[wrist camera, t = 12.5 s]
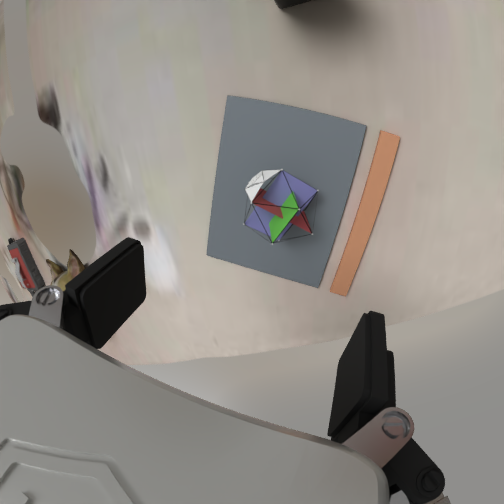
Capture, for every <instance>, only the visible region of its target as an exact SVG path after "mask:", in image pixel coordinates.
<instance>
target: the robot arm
mask: <svg viewBox="0 0 504 504" xmlns="http://www.w3.org/2000/svg"><path fill="white" fill-rule="evenodd" d="M65 288H66V289H65V290H64V291H62V289H61V288H59V287H58V286H54V285H49V286H45V287H42V288H40V289H39V290H37V291H36V293H35V294H34V296H33V298H32V301H26V302H19V303H12V304H5V305H1V306H0V504H451V503H450V501H449V498H448V496H446V497H444V495H443V493H442V491H443V489H444V486H445V478H444V475H443V473H442V472H441V470H440V469H439V468H438V467H437V465H436V464H435V463H434V462H433V461H432V460H431V459H430V458H429V457H428V455H427V454H426V453H425V452H424V451H423V450H422V449H421V448H420V446H419V445H418V444H417V443H416V442H415V441H414V440H413V439H412V435H413V433H414V423H413V420H412V418H411V417H410V415H409V414H408V413H407V412H405V411H404V410H402V409H400V408H396V403H395V402H396V399H395V372H394V356H393V352H392V351H388V350H387V346H386V331H385V319H384V315H383V314H381V313H377V312H373V311H369V313H368V314H366V313H364V314H363V315H362V317H361V319H360V321H359V323H358V325H357V327H356V329H355V331H354V333H353V335H352V337H351V339H350V341H349V343H348V345H347V347H346V348H345V350H344V352H343V354H342V356H341V358H340V360H339V364H338V369H337V376H336V383H335V390H334V397H333V404H332V410H331V416H330V422H329V428H328V436H331V440H328V439H325V438H321V437H318V436H314V435H311V434H308V433H304V432H300V431H296V430H293V429H289V428H286V427H282V426H279V425H276V424H272V423H269V422H266V421H263V420H259V419H256V418H253V417H250V416H247V415H244V414H241V413H238V412H235V411H233V410H230V409H227V408H224V407H221V406H219V405H216V404H213V403H211V402H208V401H206V400H203V399H200V398H198V397H195V396H193V395H191V394H188V393H186V392H183V391H181V390H179V389H176V388H174V387H172V386H169V385H167V384H165V383H163V382H160V381H158V380H156V379H154V378H152V377H150V376H148V375H146V374H144V373H141V372H139V371H137V370H135V369H133V368H131V367H129V366H127V365H125V364H124V363H122V362H120V361H118V360H116V359H114V358H112V357H110V356H108V355H106V354H105V353H103V352H101V351H99V350H97V349H100V348H102V347H103V346H104V344H105V343H106V342H107V341H108V340H109V339H110V338H111V337H112V335H113V334H114V333H115V332H116V331H117V330H118V329H119V328H120V327H121V326H122V324H123V323H124V322H125V321H126V320H127V319H128V318H129V317H130V316H131V315H132V313H133V312H134V311H135V310H136V309H137V308H138V307H139V306H140V305H141V304H142V303H143V302H144V300H145V298H146V283H145V268H144V249H143V246H142V245H141V242H140V241H138V240H135V239H132V238H129V237H128V238H126V239H124V240H123V241H121V242H120V243H119V244H117V245H116V246H115V247H113V248H112V249H111V250H109V251H108V252H107V253H105V254H104V255H103V256H101V257H100V258H99V259H97V260H96V261H95V262H93V263H92V264H91V265H90V266H88V267H87V268H86V269H84V270H83V271H82V272H81V273H79V274H78V275H77V276H76V277H74V278H73V279H72V280H71V281H69V282H68V283H67V284H66V285H65Z"/></svg>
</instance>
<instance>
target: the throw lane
mask: <svg viewBox="0 0 504 504" xmlns="http://www.w3.org/2000/svg"><path fill="white" fill-rule="evenodd" d="M365 130H366V125H363V124H359V123H356V122H353V121H349V120H346V119H342V118H338V117H335V116H331V115H327V114H323V113H319V112H315V111H311V110H306V109H302V108H297V107H293V106H288V105H283V104H278V103H272V102H267V101H261V100H255V99H249V98H242V97H236V96H228V95H227V102H226V108H225V114H224V121H223V127H222V134H221V141H220V148H219V155H218V162H217V170H216V177H215V185H214V193H213V201H212V210H211V218H210V227H209V236H208V246H207V255H208V256H211V257H214V258H218V259H221V260H224V261H228V262H231V263H234V264H238V265H241V266H244V267H248V268H251V269H254V270H258V271H261V272H265V273H268V274H271V275H275V276H278V277H282V278H285V279H289V280H292V281H296V282H299V283H302V284H306V285H309V286H313V287H316V288H318V286H319V284H320V281H321V278H322V275H323V272H324V269H325V266H326V263H327V260H328V257H329V254H330V251H331V248H332V245H333V242H334V239H335V236H336V233H337V230H338V227H339V223H340V220H341V217H342V214H343V210H344V207H345V204H346V200H347V197H348V193H349V190H350V187H351V183H352V179H353V176H354V172H355V169H356V165H357V161H358V157H359V154H360V150H361V146H362V142H363V138H364V134H365ZM399 140H400V137H399V136H396V135H393V134H390V133H388V132H385V131H382V130H380V134H379V138H378V142H377V146H376V150H375V154H374V157H373V161H372V165H371V168H370V172H369V175H368V179H367V182H366V185H365V189H364V192H363V195H362V199H361V202H360V205H359V208H358V211H357V215H356V218H355V221H354V224H353V227H352V230H351V233H350V236H349V239H348V242H347V245H346V247H345V250H344V253H343V256H342V259H341V262H340V264H339V267H338V270H337V273H336V275H335V278H334V281H333V283H332V286H331V289H330V292H332V293H336V294H339V295H343V296H346V294H347V292H348V290H349V287H350V285H351V282H352V280H353V278H354V275H355V273H356V270H357V268H358V265H359V263H360V260H361V257H362V255H363V252H364V249H365V247H366V244H367V241H368V239H369V236H370V233H371V230H372V228H373V225H374V222H375V219H376V216H377V213H378V210H379V207H380V204H381V201H382V198H383V195H384V192H385V189H386V186H387V182H388V179H389V176H390V172H391V169H392V166H393V162H394V159H395V155H396V151H397V148H398V144H399ZM281 169H283V170H284V171H285V172H287V173H289V174H291V175H292V176H294V177H296V178H298V179H299V180H301V181H303V182H305V183H306V184H308V185H310V186H311V187H313V188H315V189H316V190H319V191H318V192H317V194H316V195H315V197H314V198H313V200H312V199H311V200H312V201H311V203H310V202H309V203H310V204H309V203H308V204H309V206H308V207H307V206H306V207H307V209H306V210H305V208H306V207H305V208H304V210H305V214H306V217H307V219H308V222H309V225H310V228H311V230H312V232H313V235H312V234H311V233H309V232H307V231H306V230H304V229H302V228H300V227H298V226H296V225H294V224H293V225H292V226H291V228H290V229H289V230H288V231H287V232H286V233H285V235H284V236H283V237H282V238H281V239H280V241H278V240H275V242H276V241H278V243H277V242H276V243H274V244H273V245H272V243H270V242H271V241H272V239H271V237H270V236H269V237H270V239H271V241H270V239H269V237H268V235H266V234H264V233H262V232H259V231H257V230H255V229H253V228H251V227H249V226H248V227H247V225H243V223H244V220H245V219H246V220H247V219H248V218H249V216H250V215H251V213H252V212H253V210H254V208H255V207H256V205H254V204H253V206H254V208H253V206H252V204H251V201H250V199H249V197H248V199H247V196H248V195H247V193H246V191H245V188H246V186H247V185H248V183H249V182H250V180H251V179H252V178H253V177H254V176H256V175H257V174H258V173H259V172H261V171H262V170H281ZM279 172H280V171H279ZM279 172H278V173H279ZM278 173H276V174H275V175H273V176H272V177H270V178H269V179H268V180H266V181H264V183H263V185H262V186H261V189H264V188H265V187H266V186H267V185H268V184H269V183H270V182H271V180H272V179H271V178H274V177H275V176H276V175H277V174H278ZM278 175H279V174H278ZM278 175H277V176H278ZM277 176H276V177H277ZM276 177H275V178H274V179H273V180H272V182H271V183H270V184H269V185H268V186H267V187H266V188H265V189H264V190H265V191H267V190H268V189H269V187H270V186H271V184H272V183H273V182H274V180H275V179H276ZM317 195H318V196H317ZM316 203H317V204H316ZM246 204H247V207H246ZM308 204H307V205H308ZM250 205H251V207H250ZM249 208H250V210H249ZM315 210H316V212H315ZM248 211H249V213H248ZM245 212H246V215H245ZM247 214H248V215H247ZM246 217H247V218H246ZM314 218H315V219H314ZM245 222H246V221H245ZM313 225H314V227H313ZM250 228H251V229H250ZM253 230H254V231H253ZM256 232H257V233H258V234H257V233H256ZM309 234H311V235H309ZM260 235H261V236H260ZM304 235H307V236H304ZM299 236H300V237H299ZM301 236H303V237H301ZM263 237H264V238H263ZM293 237H295V238H294V239H293ZM297 237H299V238H297ZM288 238H290V240H289V239H288ZM266 239H267V240H268V241H267V240H266ZM283 239H285V240H286V241H285V240H283ZM281 241H282V242H281Z"/></svg>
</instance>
